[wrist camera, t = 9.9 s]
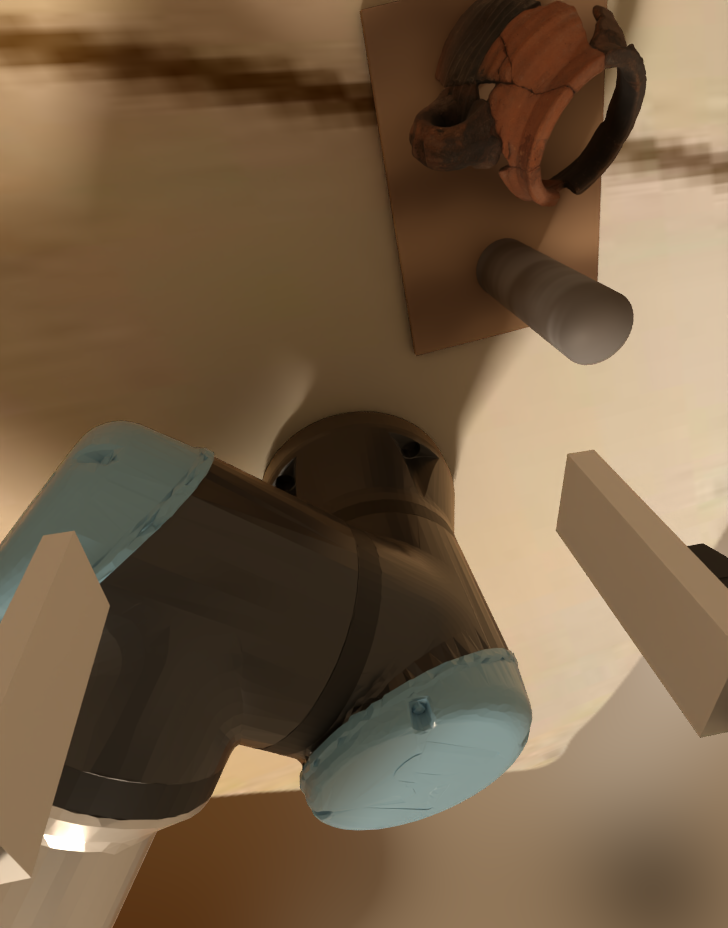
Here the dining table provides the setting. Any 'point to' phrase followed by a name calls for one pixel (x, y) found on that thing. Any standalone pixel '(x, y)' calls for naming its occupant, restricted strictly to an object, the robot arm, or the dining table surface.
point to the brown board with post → (488, 208)
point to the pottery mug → (526, 94)
